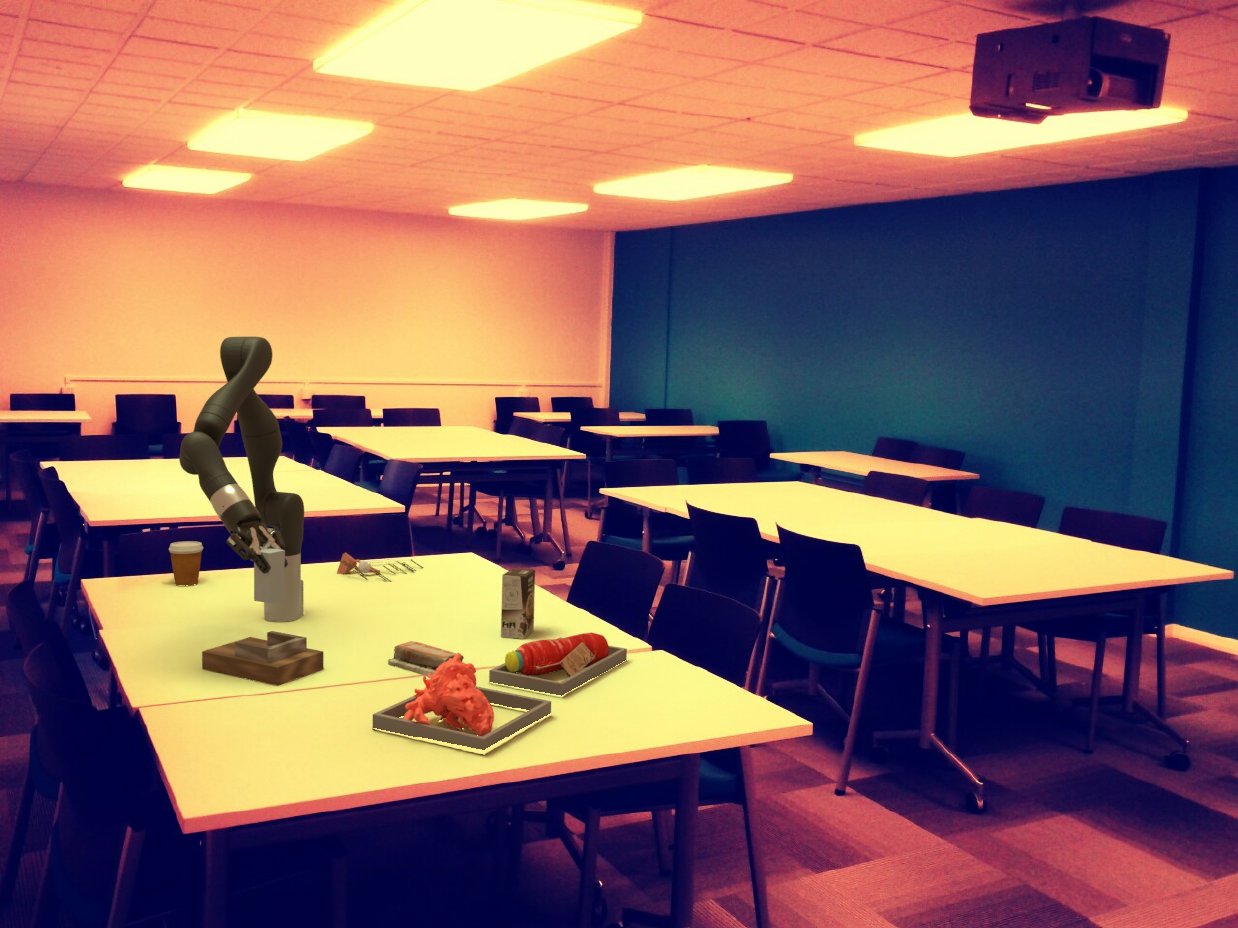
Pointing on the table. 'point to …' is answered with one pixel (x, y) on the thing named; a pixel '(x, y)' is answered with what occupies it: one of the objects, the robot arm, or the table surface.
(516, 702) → the heart corral
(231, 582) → the table surface
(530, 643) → the water bottle
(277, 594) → the slate post
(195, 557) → the disposable coffee cup
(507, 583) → the coffee box
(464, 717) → the heart model
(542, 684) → the bottle corral
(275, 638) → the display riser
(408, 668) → the packaged product
